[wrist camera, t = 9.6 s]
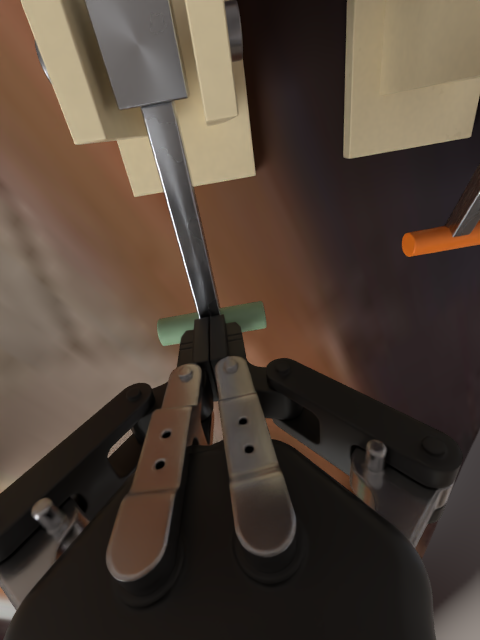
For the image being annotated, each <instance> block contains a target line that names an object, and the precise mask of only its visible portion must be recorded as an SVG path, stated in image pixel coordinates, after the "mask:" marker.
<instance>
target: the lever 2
mask: <svg viewBox="0 0 480 640" xmlns="http://www.w3.org/2000/svg"><path fill="white" fill-rule="evenodd" d="M479 244H480V164H479V165H478V167H477V169H476V171H475V173H474V174H473V176H472V178H471V180H470V181H469V183H468V185H467V187H466V189H465V190H464V192H463V194H462V196H461V197H460V199H459V201H458V203H457V205H456V206H455V208H454V210H453V212H452V213H451V215H450V217H449V219H448V220H447V222H446V224H445V226H443V227H437V228H431V229H426V230H420V231H414V232H409V233H406V234H405V235H404V237H403V239H402V249H403V252H404V254H405V255H406V256H409V257H411V256H417V255H422V254H428V253H434V252H439V251H445V250H451V249H456V248H462V247H467V246H473V245H479Z"/></svg>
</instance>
